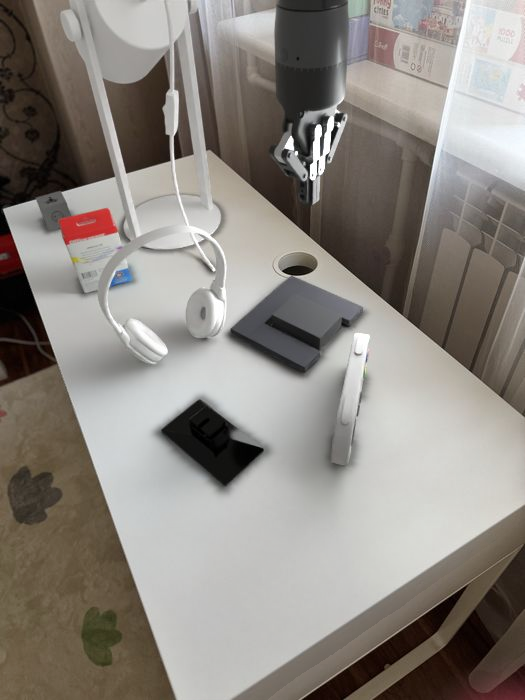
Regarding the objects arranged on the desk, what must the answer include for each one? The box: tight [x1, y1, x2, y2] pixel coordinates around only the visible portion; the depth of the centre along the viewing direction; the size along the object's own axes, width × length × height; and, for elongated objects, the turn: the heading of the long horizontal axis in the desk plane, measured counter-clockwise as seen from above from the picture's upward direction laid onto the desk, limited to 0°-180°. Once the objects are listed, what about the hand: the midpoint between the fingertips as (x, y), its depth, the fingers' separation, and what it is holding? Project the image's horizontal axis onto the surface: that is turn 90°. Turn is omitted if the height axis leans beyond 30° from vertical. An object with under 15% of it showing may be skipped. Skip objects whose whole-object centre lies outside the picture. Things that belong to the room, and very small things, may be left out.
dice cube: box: [35, 190, 72, 232], centre depth 107 cm, size 5×5×5 cm
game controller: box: [330, 332, 371, 466], centre depth 68 cm, size 20×2×8 cm, turn 165°
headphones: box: [97, 225, 227, 365], centre depth 75 cm, size 7×18×20 cm, turn 123°
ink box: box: [58, 207, 133, 294], centre depth 89 cm, size 8×5×15 cm, turn 111°
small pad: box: [271, 294, 342, 351], centre depth 83 cm, size 6×9×3 cm, turn 52°
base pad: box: [230, 275, 364, 374], centre depth 84 cm, size 14×16×1 cm
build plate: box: [160, 399, 265, 487], centre depth 68 cm, size 12×7×5 cm, turn 47°
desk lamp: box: [59, 0, 222, 272], centre depth 88 cm, size 21×32×45 cm, turn 35°
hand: (308, 201), depth 68 cm, fingers closed
